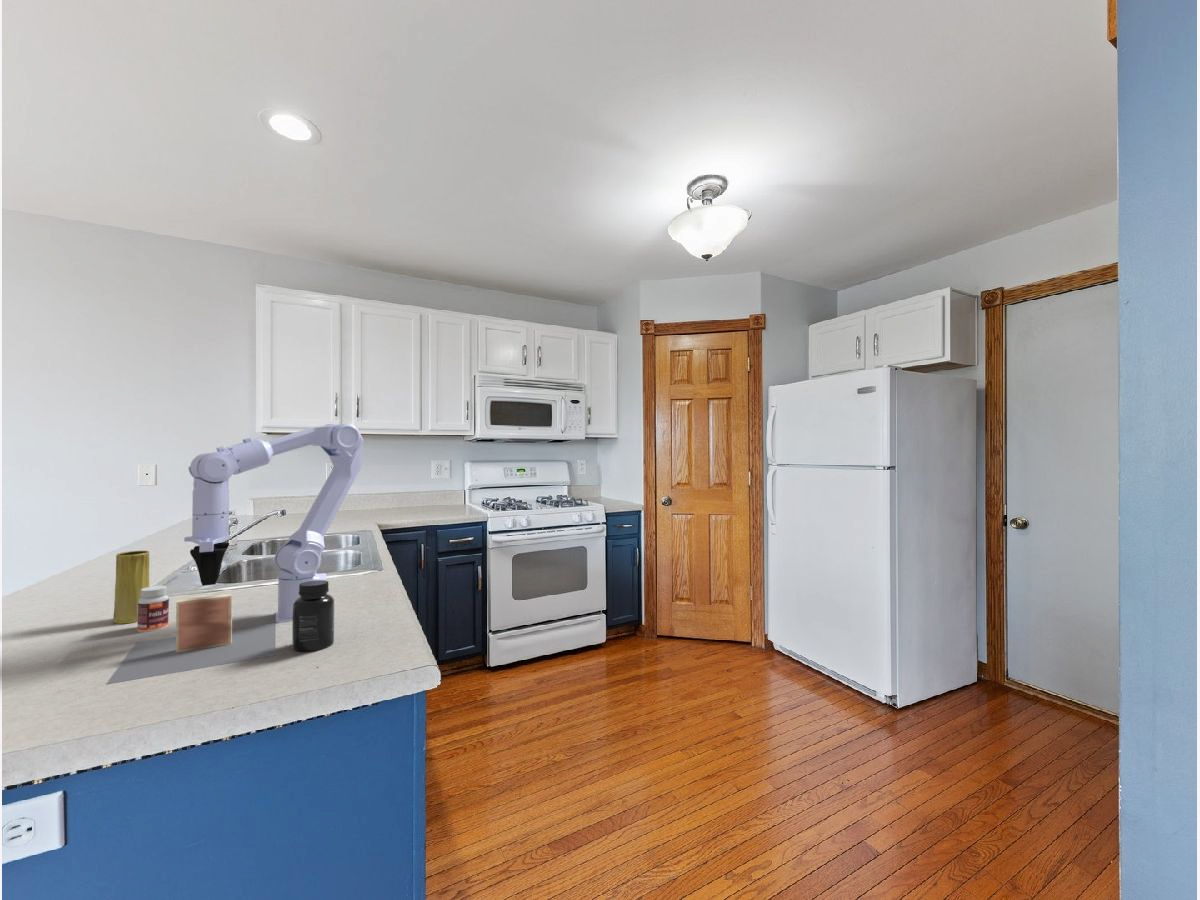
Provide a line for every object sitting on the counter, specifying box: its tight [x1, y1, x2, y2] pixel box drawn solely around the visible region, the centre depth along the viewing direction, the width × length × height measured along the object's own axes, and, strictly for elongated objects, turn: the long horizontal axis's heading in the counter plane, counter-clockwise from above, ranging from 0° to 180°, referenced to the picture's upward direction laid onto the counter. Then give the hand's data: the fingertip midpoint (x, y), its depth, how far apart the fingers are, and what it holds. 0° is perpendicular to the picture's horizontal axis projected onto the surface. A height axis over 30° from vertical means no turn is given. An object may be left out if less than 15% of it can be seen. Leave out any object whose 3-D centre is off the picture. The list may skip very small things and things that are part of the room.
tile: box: [175, 593, 233, 653], centre depth 94 cm, size 8×2×9 cm, turn 122°
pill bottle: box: [137, 585, 170, 633], centre depth 104 cm, size 5×5×8 cm
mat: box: [106, 622, 277, 685], centre depth 93 cm, size 22×20×1 cm
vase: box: [112, 550, 150, 625], centre depth 110 cm, size 6×6×14 cm
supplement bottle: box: [291, 580, 335, 653], centre depth 96 cm, size 7×7×12 cm
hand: (210, 582), depth 101 cm, fingers open, 3 cm apart
